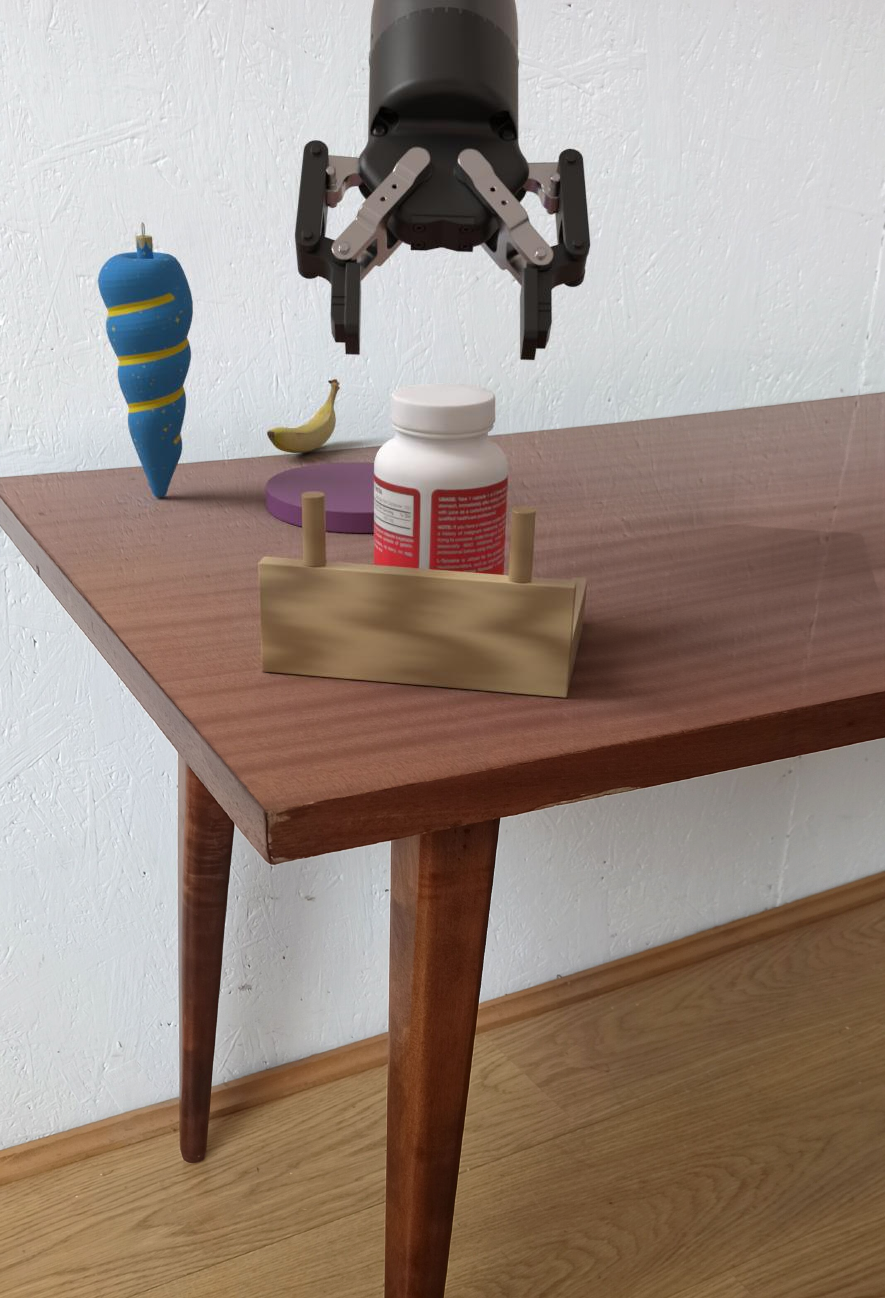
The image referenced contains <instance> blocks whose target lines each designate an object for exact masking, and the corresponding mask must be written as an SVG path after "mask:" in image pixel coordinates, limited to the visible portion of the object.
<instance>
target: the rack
mask: <svg viewBox="0 0 885 1298" xmlns="http://www.w3.org/2000/svg"><path fill="white" fill-rule="evenodd" d="M536 514H537V510H536V509H535V508H534V507H531V506H524V505H523V506H520V505H519V506H515V507H512V509H511V519H510V520H511V521H510V522H511V523H510V537H509V538H510V539H509V555H508V557H509V558H508V575H507V574H504V575H497V574H484V573H471V572H458V571H445V570H432V569H420V568H407V567H394V566H381V565H374V564H369V563H368V564H367V563H366V564H365V563H354V562H343V561H329V560H327V539H326V538H327V536H326V535H327V534H326V532H327V531H326V521H325V494H324V493H322V492H317V491H309V492H304V493H302V527H301V528H302V529H301V531H302V532H301V533H302V535H301V536H302V537H301V539H302V559H301V558H288V557H278V556H277V557H275V556H263V557H262V558H261V559H260V561H259V562H258V563H257V568H258V569H257V570H258V592H259V593H258V594H259V596H258V597H259V598H258V599H259V620H260V621H259V623H260V625H259V626H260V647H261V648H260V651H261V652H260V653H261V671H262V672H264V673H276V674H289V675H299V676H310V677H311V676H312V677H321V678H322V677H324V678H334V679H346V680H355V681H356V680H358V681H369V682H379V683H389V684H390V683H393V684H402V685H403V684H404V685H412V686H413V685H414V686H426V687H438V688H449V689H459V690H473V691H482V692H483V691H484V692H485V691H486V692H495V693H505V694H506V693H508V694H518V695H529V696H541V697H553V698H564V699H565V698H567V697H568V692H569V688H570V683H571V679H572V674H573V672H574V667H575V666H574V665H575V661H576V658H577V653H578V648H579V644H580V641H581V635H582V631H583V626H584V621H585V614H586V613H585V611H586V600H587V589H588V588H587V586H588V579H587V578H585V577H584V578H583V577H571V578H570V579H558V578H548V577H546V578H545V577H534V576H533V567H534V566H533V564H534V550H535V549H534V547H535V530H536Z"/></svg>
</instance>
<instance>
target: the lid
mask: <svg viewBox="0 0 885 1298" xmlns="http://www.w3.org/2000/svg"><path fill="white" fill-rule="evenodd" d="M309 491H317V492H322V493H324V494H325V521H326V532H331V533H332V532H334V533H346V534H374V462H364V461H363V462H359V461H356V462H354V461H352V462H351V461H349V462H348V461H347V462H327V463H326V462H325V463H316V464H310V465H304V466H299V467H298V466H297V467H294V468H290V469H287V470H284V471H281V472H279V473H277V474H275V475H273V476H272V477H270V478H269V479H268V480H267V481H266V483H265V506H266V510H267V511H268V512H269V514H271V516H273V517H275V518H277V519H278V520H280V521H282V522H285V523H288V524H291V525H293V526H298V527H301V528H302V493H304V492H309Z"/></svg>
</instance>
